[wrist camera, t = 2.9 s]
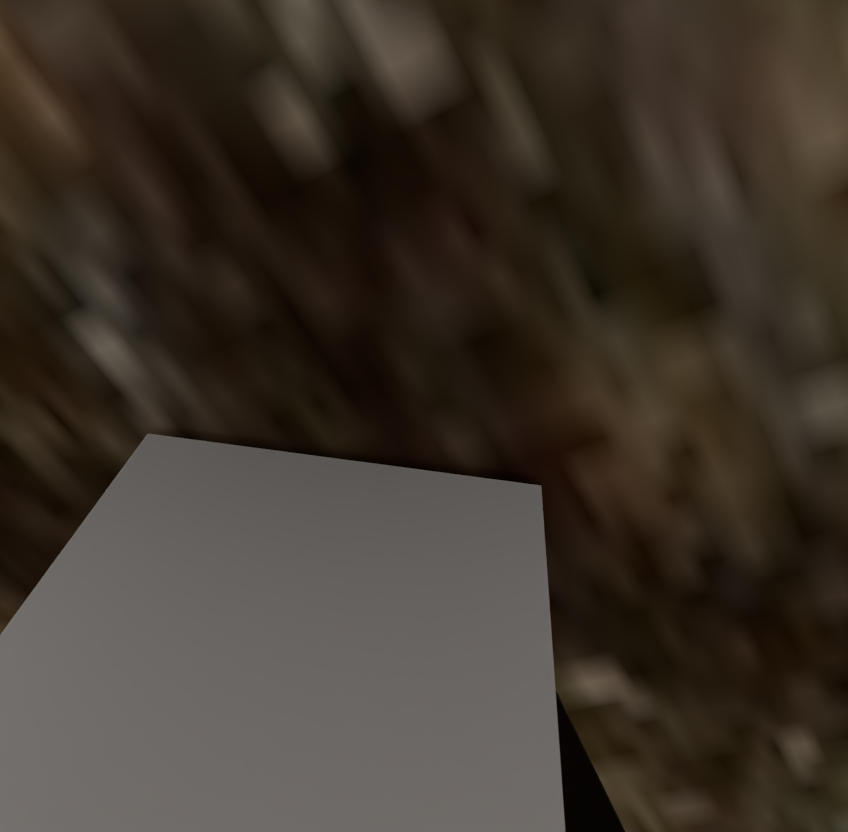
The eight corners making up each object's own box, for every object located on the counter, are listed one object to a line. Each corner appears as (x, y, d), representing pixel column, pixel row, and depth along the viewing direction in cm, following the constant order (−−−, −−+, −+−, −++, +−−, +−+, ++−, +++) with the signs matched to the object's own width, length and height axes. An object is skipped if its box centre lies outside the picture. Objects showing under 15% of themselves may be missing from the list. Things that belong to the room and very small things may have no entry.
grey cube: (541, 485, 9) (575, 969, 5) (484, 718, 12) (474, 1149, 7) (147, 433, 9) (-165, 859, 5) (186, 675, 12) (12, 1077, 8)
